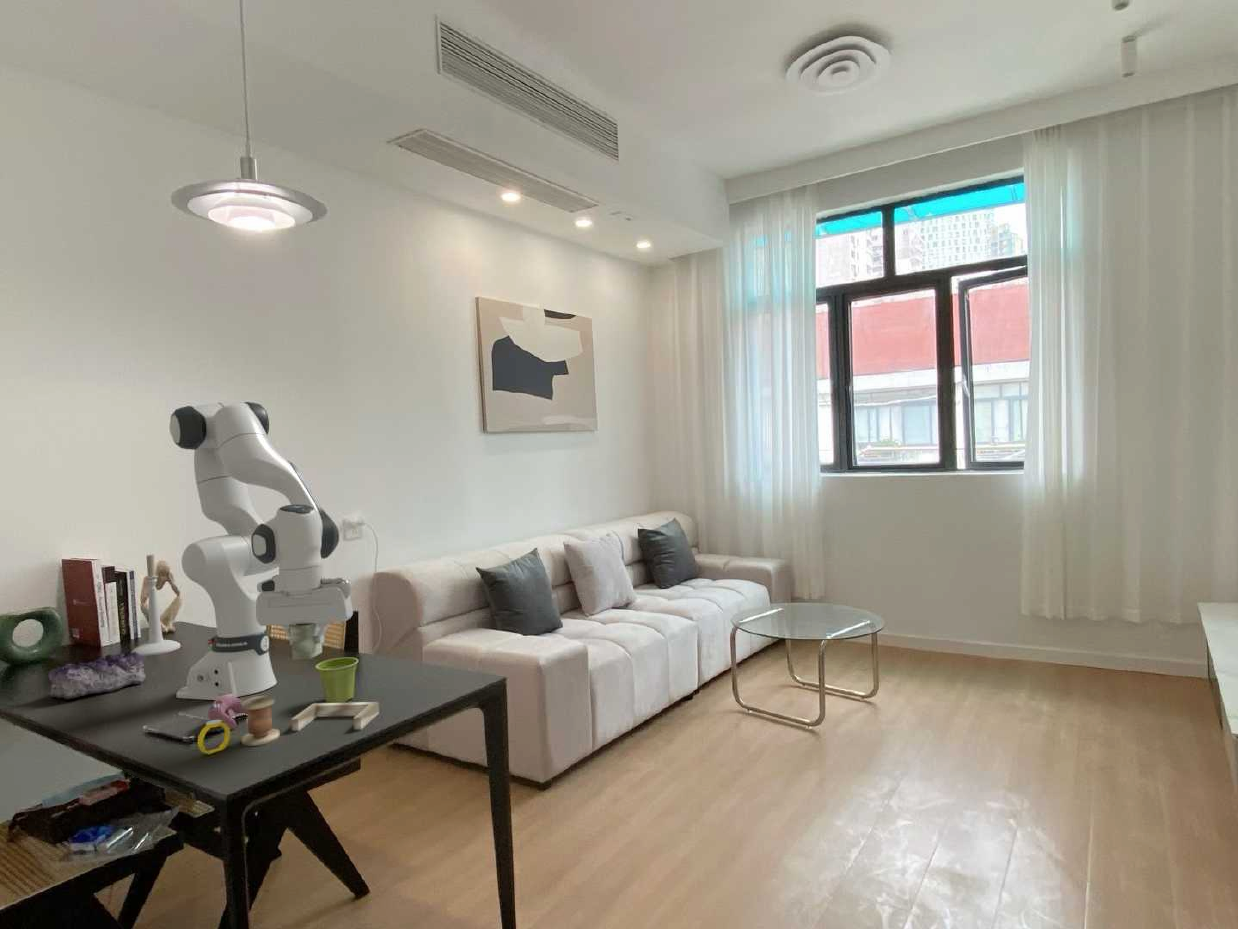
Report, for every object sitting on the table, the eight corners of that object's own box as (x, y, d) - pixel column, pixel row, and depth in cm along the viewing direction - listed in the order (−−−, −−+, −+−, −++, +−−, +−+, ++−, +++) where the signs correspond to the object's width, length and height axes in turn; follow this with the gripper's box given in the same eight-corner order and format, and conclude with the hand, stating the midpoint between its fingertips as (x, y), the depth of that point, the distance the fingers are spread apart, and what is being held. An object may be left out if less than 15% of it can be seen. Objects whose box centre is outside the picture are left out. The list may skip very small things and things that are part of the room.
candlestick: (190, 644, 235) (184, 550, 234) (156, 656, 222) (149, 556, 221) (156, 644, 237) (150, 550, 237) (121, 655, 225) (114, 557, 224)
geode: (138, 676, 203) (139, 640, 202) (151, 690, 195) (151, 653, 194) (45, 694, 188) (46, 655, 187) (54, 709, 180) (55, 670, 179)
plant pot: (320, 709, 169) (317, 671, 168) (316, 698, 177) (313, 661, 177) (363, 701, 173) (361, 664, 173) (357, 690, 181) (355, 655, 181)
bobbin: (234, 746, 149) (232, 707, 149) (254, 732, 156) (251, 695, 156) (268, 745, 149) (265, 706, 149) (286, 732, 156) (283, 694, 156)
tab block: (292, 659, 158) (290, 626, 158) (304, 653, 163) (302, 621, 163) (310, 658, 158) (308, 625, 157) (322, 652, 163) (319, 620, 162)
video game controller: (236, 722, 168) (220, 695, 167) (254, 711, 168) (238, 685, 168) (217, 739, 158) (199, 711, 157) (236, 728, 158) (219, 700, 158)
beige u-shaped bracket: (292, 731, 156) (291, 719, 156) (313, 714, 166) (313, 703, 166) (361, 729, 155) (360, 718, 155) (379, 713, 165) (378, 702, 164)
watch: (204, 759, 144) (202, 728, 143) (195, 756, 145) (193, 726, 145) (233, 747, 149) (231, 717, 149) (225, 745, 150) (223, 715, 150)
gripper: (355, 574, 162) (360, 637, 163) (266, 580, 164) (270, 642, 164) (342, 579, 156) (347, 645, 156) (249, 585, 158) (254, 649, 158)
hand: (307, 643), depth 160 cm, fingers closed on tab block, 4 cm apart
